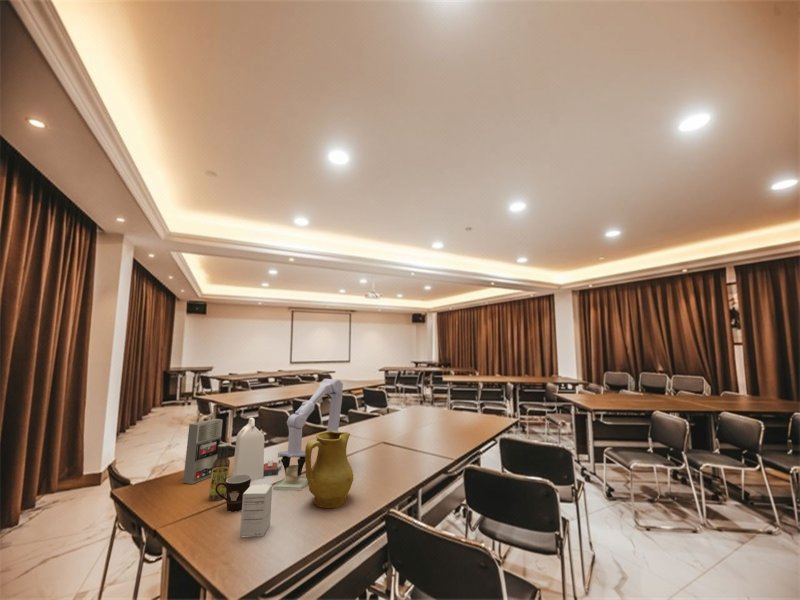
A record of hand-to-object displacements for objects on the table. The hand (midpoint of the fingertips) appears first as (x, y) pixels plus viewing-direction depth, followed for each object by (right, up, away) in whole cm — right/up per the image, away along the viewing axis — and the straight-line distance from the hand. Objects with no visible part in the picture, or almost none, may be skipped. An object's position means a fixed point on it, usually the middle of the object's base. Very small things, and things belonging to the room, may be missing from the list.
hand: (293, 474), depth 141 cm
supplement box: (+1, +3, -38) cm, 38 cm away
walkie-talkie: (-16, -8, +18) cm, 26 cm away
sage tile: (0, -4, -1) cm, 4 cm away
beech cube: (0, -2, 0) cm, 2 cm away
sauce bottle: (-25, -2, -14) cm, 29 cm away
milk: (-24, -6, +8) cm, 26 cm away
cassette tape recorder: (-44, -5, +6) cm, 45 cm away
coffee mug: (-15, 0, -22) cm, 27 cm away
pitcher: (+20, -1, -17) cm, 26 cm away
